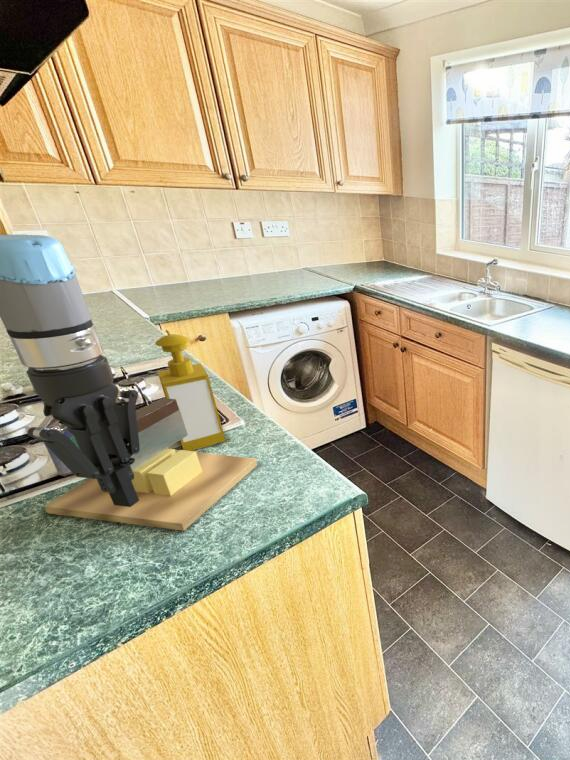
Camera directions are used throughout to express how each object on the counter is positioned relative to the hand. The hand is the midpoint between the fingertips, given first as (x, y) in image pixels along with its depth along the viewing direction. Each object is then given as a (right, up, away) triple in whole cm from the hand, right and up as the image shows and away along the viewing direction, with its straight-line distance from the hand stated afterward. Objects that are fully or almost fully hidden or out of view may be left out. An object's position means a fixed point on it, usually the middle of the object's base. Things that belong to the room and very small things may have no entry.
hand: (126, 502), depth 64 cm
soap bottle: (-9, +7, +27) cm, 30 cm away
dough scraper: (-2, +6, +8) cm, 11 cm away
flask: (-22, +3, +17) cm, 28 cm away
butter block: (-7, +1, +11) cm, 13 cm away
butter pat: (0, +1, +11) cm, 11 cm away
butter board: (-4, 0, +11) cm, 12 cm away
